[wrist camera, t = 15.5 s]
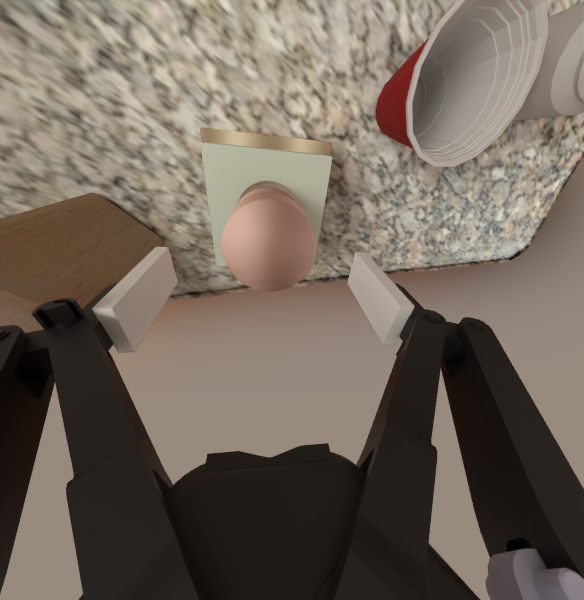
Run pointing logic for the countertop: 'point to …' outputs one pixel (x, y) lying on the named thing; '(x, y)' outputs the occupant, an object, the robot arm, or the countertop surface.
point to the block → (66, 255)
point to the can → (559, 70)
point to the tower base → (265, 141)
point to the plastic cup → (465, 79)
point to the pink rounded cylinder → (269, 238)
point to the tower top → (261, 167)
